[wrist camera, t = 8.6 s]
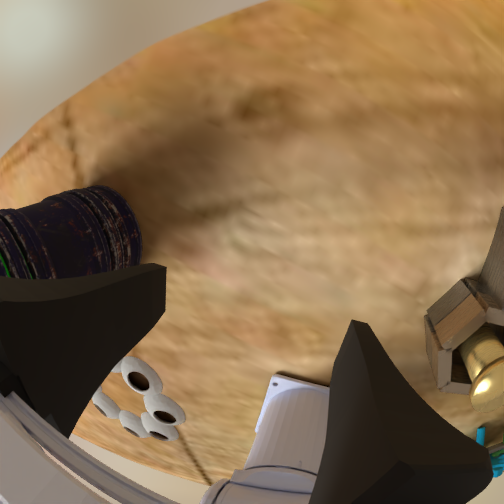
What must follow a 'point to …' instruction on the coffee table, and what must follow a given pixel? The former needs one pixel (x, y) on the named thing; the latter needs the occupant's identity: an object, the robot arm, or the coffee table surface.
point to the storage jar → (70, 236)
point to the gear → (493, 452)
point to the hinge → (466, 318)
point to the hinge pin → (484, 368)
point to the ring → (151, 399)
